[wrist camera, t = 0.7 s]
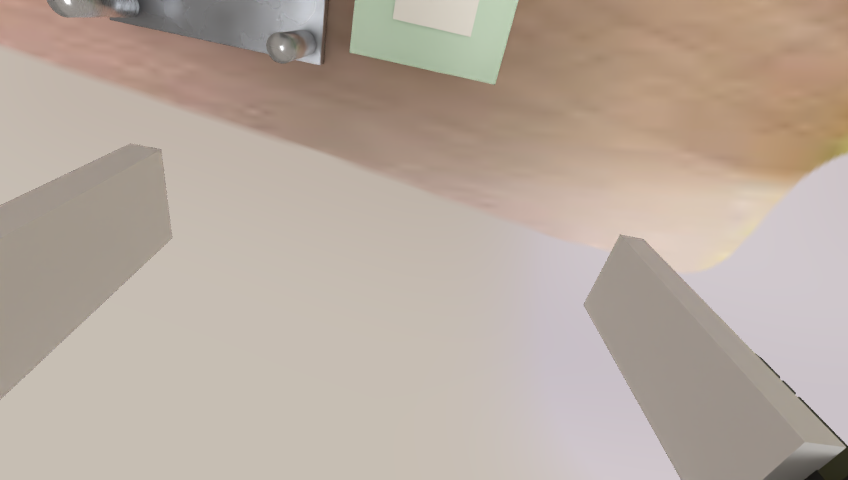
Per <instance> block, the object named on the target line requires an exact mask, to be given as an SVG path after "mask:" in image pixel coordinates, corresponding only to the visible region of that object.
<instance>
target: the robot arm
mask: <svg viewBox="0 0 848 480" xmlns="http://www.w3.org/2000/svg"><path fill="white" fill-rule="evenodd" d="M171 239H172V232H171V224H170V216H169V208H168V200H167V191H166V183H165V176H164V168H163V159H162V152H161V149H157V148H152V147H146V146H140V145H135V144H129V145H126V146H124V147H122V148H120V149H118V150H116V151H114V152H112V153H109V154H107V155H105V156H103V157H101V158H99V159H97V160H95V161H93V162H91V163H88V164H86V165H84V166H82V167H80V168H78V169H76V170H73V171H71V172H69V173H67V174H65V175H63V176H61V177H59V178H57V179H55V180H52V181H51V182H49V183H46V184H44V185H42V186H40V187H38V188H36V189H33V190H31V191H29V192H27V193H25V194H23V195H21V196H19V197H17V198H15V199H13V200H10V201H8V202H6V203H4V204H2V205H0V400H1V399H2V398H3V397H4V396H5V395H6V394H7V393H8V392H9V391H10V390H11V389H12V388H13V387H14V386H15V385H17V384H18V383H19V382H20V381H21V380H22V379H23V378H24V377H25V376H26V375H27V374H28V373H29V372H30V371H31V370H33V369H34V368H35V367H36V366H37V365H38V364H39V363H40V362H41V361H42V360H43V359H44V358H45V357H46V356H47V355H48V354H49V353H51V352H52V351H53V350H54V349H55V348H56V347H57V346H58V345H59V344H60V343H61V342H62V341H63V340H64V339H65V338H67V337H68V336H69V335H70V334H71V333H72V332H73V331H74V330H75V329H76V328H77V327H78V326H79V325H80V324H81V323H82V322H84V321H85V320H86V319H87V318H88V317H89V316H90V315H91V314H92V313H93V312H94V311H95V310H96V309H97V308H98V307H99V306H100V305H102V304H103V303H104V302H105V301H106V300H107V299H108V298H109V297H110V296H111V295H112V294H113V293H114V292H115V291H117V290H118V288H119V287H121V286H122V285H123V284H124V283H125V282H126V281H127V280H128V279H129V278H130V277H131V276H132V275H133V274H134V273H136V272H137V271H138V270H139V269H140V268H141V267H142V266H143V265H144V264H145V263H146V262H147V261H148V260H149V259H151V257H153V256H154V255H155V254H156V253H157V252H158V251H159V250H160V249H161V248H162V247H163V246H164V245H165V244H166V243H168V241H170V240H171ZM584 307H585V308H586V310H587V312H588V314H589V316H590V317H591V319H592V321H593V323H594V325H595V326H596V328H597V330H598V331H599V334H600V335H601V337H602V339H603V341H604V343H605V344H606V346H607V348H608V350H609V351H610V353H611V355H612V357H613V359H614V360H615V362H616V364H617V366H618V367H619V369H620V371H621V373H622V375H623V376H624V378H625V380H626V382H627V384H628V385H629V387H630V389H631V391H632V393H633V394H634V396H635V398H636V400H637V402H638V403H639V405H640V407H641V409H642V411H643V412H644V414H645V416H646V418H647V420H648V421H649V423H650V425H651V427H652V429H653V430H654V432H655V434H656V436H657V438H658V439H659V441H660V443H661V445H662V447H663V448H664V450H665V452H666V454H667V456H668V457H669V459H670V461H671V463H672V464H673V466H674V468H675V470H676V472H677V473H678V475H679V477H680V479H681V480H848V446H847V445H846V444H845V443H844V442H843V441H842V440H841V439H840V438H839V437H838V436H837V435H836V434H835V432H834V431H832V429H831V428H830V427H829V426H828V425H827V424H826V423H825V422H824V421H823V420H822V419H821V418H820V417H819V416H818V415H817V414H816V413H815V412H814V411H813V410H812V409H811V408H810V407H809V406H808V405H807V404H806V403H805V402H804V401H803V400H802V399H801V398H800V397H797V396H796V395H795V394H796V393H795V392H794V391H793V390H792V389H791V388H790V387H789V386H788V385H787V384H786V383H785V382H784V381H781V380H780V376H779V375H778V374H777V373H775V371H774V370H773V369H771V367H770V366H769V365H768V364H767V363H766V362H765V361H764V360H763V359H762V358H761V357H759V356H758V355H757V354H755V353H754V352H753V351H752V350H751V349H750V348H749V347H748V346H747V345H746V344H745V343H744V342H743V341H742V340H741V339H740V338H739V337H738V336H737V335H736V334H735V332H734V331H733V330H732V329H730V328H729V326H728V325H727V324H726V323H725V322H724V321H723V320H722V319H721V318H720V317H719V316H718V315H717V314H716V313H715V312H714V311H713V310H712V309H711V308H710V307H709V306H708V305H707V304H706V303H705V302H704V301H703V300H702V299H701V298H700V297H699V296H698V295H697V294H696V292H695V291H694V290H693V289H691V287H690V286H689V285H688V284H687V283H686V282H685V281H684V280H683V279H682V278H681V277H680V276H679V275H678V274H677V273H676V272H675V271H674V270H673V269H672V268H671V267H670V266H669V265H668V264H667V263H666V262H665V261H664V260H663V259H662V258H661V257H660V256H659V254H658V253H657V252H656V251H655V250H654V249H653V248H652V247H651V246H650V245H649V244H648V243H647V242H646V241H645V240H644V239H641V238H635V237H630V236H625V235H620V236H619V238H618V240H617V242H616V244H615V245H614V247H613V249H612V251H611V253H610V255H609V257H608V259H607V261H606V263H605V265H604V267H603V268H602V270H601V272H600V274H599V276H598V278H597V280H596V282H595V284H594V286H593V288H592V289H591V291H590V293H589V295H588V297H587V299H586V301H585V303H584Z"/></svg>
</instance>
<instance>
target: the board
mask: <svg viewBox="0 0 848 480" xmlns="http://www.w3.org/2000/svg"><path fill="white" fill-rule="evenodd" d="M517 4H518V0H355V4H354V14H353V23H352V33H351V42H350V52H349V53H354V54H358V55H363V56H367V57H372V58H376V59H381V60H385V61H390V62H394V63H399V64H403V65H408V66H413V67H417V68H422V69H426V70H431V71H435V72H440V73H444V74H449V75H453V76H458V77H462V78H467V79H471V80H476V81H480V82H485V83H489V84H494V85H495V83H496V80H497V76H498V73H499V69H500V65H501V62H502V58H503V54H504V51H505V47H506V44H507V40H508V36H509V33H510V29H511V25H512V22H513V18H514V14H515V11H516V7H517Z"/></svg>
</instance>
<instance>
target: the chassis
mask: <svg viewBox="0 0 848 480" xmlns="http://www.w3.org/2000/svg"><path fill="white" fill-rule="evenodd" d="M47 2H48V4H49V5H50V7H51V8H52V9H53V10H54V11H55V12H56V13H57V14H59V15H61V16H63V17H110V20H114V21H118V22H123V23H127V24H132V25H137V26H141V27H146V28H151V29H155V30H160V31H164V32H169V33H174V34H178V35H183V36H187V37H192V38H197V39H201V40H206V41H211V42H215V43H220V44H224V45H229V46H234V47H238V48H243V49H248V50H252V51H257V52H261V53H266V54H269V56H270V57H271V58H272V59H273V60H274V61H276V62H278V63H288V62H291V61H293V60H298V61H303V62H308V63H312V64H317V65H321V64H323V63H324V50H325V37H326V24H327V12H328V0H47Z"/></svg>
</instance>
